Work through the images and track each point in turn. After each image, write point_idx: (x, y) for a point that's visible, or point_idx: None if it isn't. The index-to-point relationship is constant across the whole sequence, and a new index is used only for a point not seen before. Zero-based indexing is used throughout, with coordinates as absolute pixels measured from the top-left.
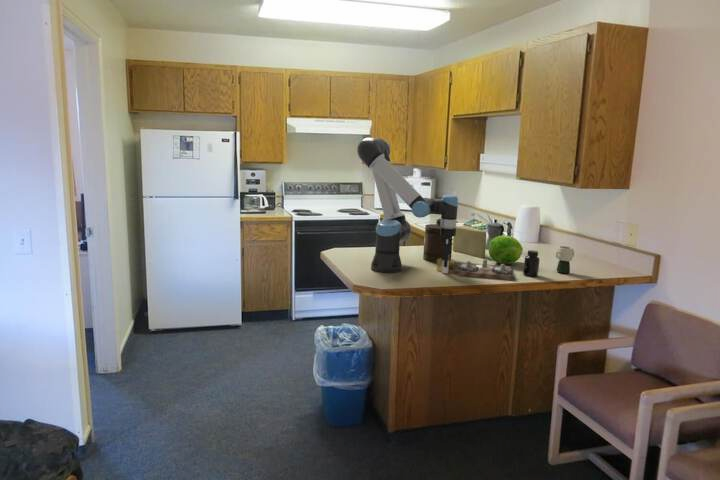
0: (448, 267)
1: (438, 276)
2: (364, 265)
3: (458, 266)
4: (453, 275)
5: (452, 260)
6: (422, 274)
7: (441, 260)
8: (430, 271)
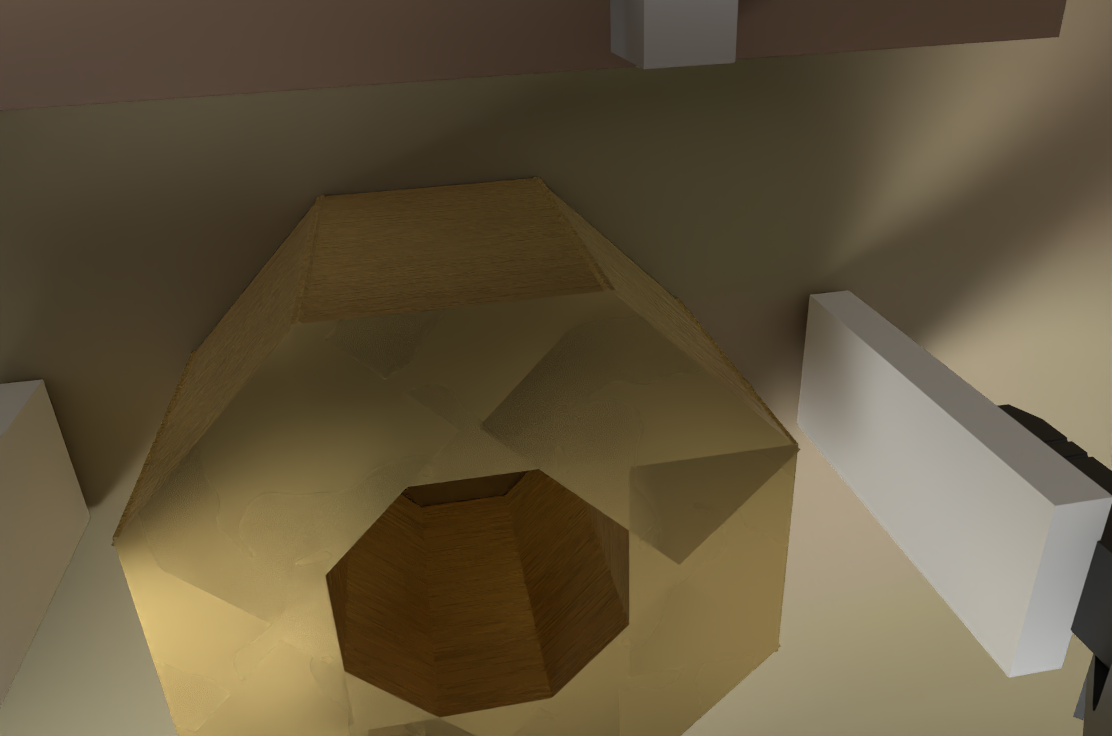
0: (725, 361)
1: (1093, 437)
2: None
3: (724, 42)
4: (963, 126)
5: (420, 378)
6: (981, 702)
7: (599, 693)
8: None
